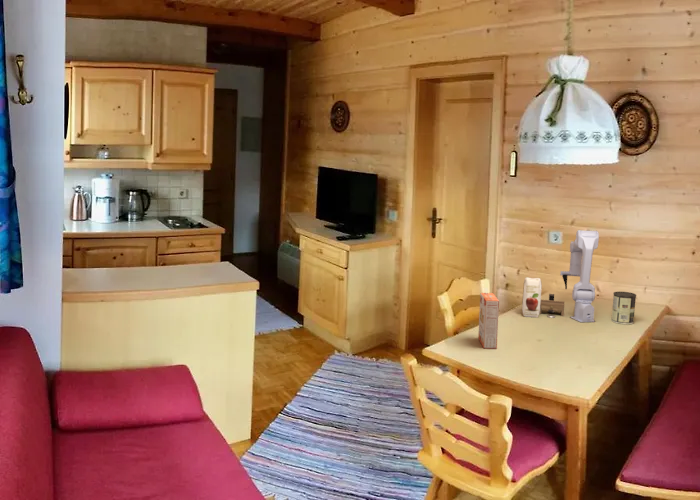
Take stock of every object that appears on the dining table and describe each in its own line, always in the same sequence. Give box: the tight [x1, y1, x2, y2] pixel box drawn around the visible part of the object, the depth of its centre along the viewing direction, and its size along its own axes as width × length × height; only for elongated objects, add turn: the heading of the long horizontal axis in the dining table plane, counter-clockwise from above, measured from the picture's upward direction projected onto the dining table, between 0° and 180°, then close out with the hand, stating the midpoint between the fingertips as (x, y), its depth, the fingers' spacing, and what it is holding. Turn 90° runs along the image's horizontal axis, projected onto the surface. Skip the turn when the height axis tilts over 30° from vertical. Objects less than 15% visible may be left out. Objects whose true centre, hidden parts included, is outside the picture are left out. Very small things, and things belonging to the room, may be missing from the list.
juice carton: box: [521, 276, 543, 318], centre depth 330 cm, size 8×9×19 cm
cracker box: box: [477, 292, 500, 350], centre depth 281 cm, size 14×6×21 cm, turn 178°
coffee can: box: [610, 291, 637, 325], centre depth 324 cm, size 10×10×14 cm
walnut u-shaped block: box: [539, 299, 566, 317], centre depth 336 cm, size 8×12×6 cm
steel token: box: [546, 314, 556, 319], centre depth 330 cm, size 4×4×1 cm
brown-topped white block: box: [547, 293, 555, 314], centre depth 346 cm, size 15×3×7 cm, turn 164°
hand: (573, 289), depth 351 cm, fingers open, 7 cm apart
